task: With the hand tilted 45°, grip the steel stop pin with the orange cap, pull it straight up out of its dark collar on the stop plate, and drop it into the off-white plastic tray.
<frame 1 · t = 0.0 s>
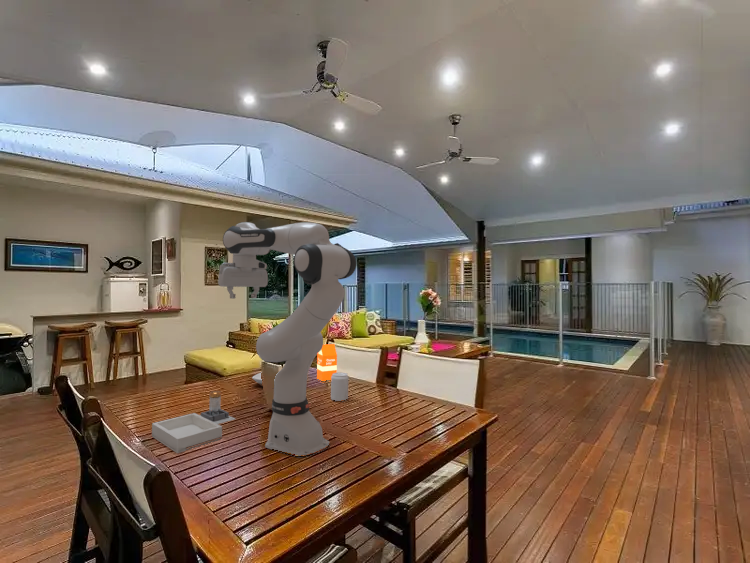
hand: (243, 298, 156), 48 cm above the table, tool pointing down, fingers open, 8 cm apart
tray: (186, 437, 136), on the table
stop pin: (214, 417, 153), point 1 cm above the table, touching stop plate
beverage can: (339, 400, 184), on the table
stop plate: (214, 420, 153), on the table
orange juice: (326, 380, 220), on the table
bowl: (276, 385, 207), on the table
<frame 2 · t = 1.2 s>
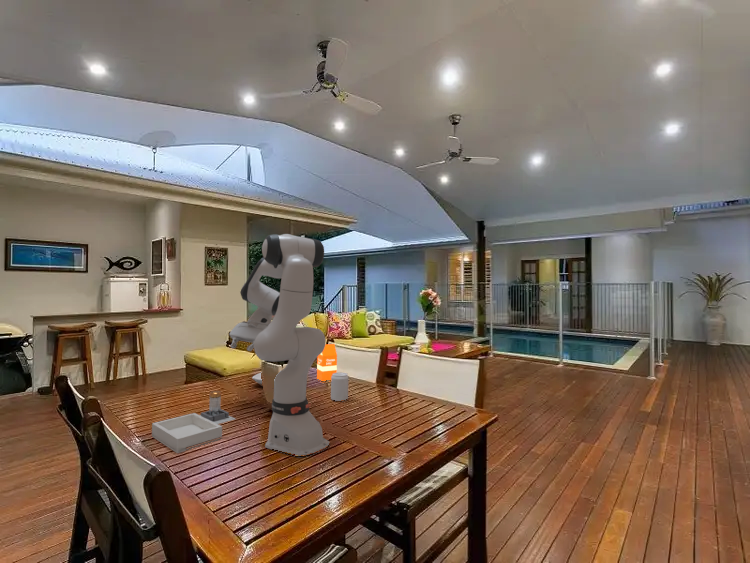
hand: (240, 348, 164), 26 cm above the table, tool tilted 45°, fingers open, 8 cm apart
nothing on the table moved.
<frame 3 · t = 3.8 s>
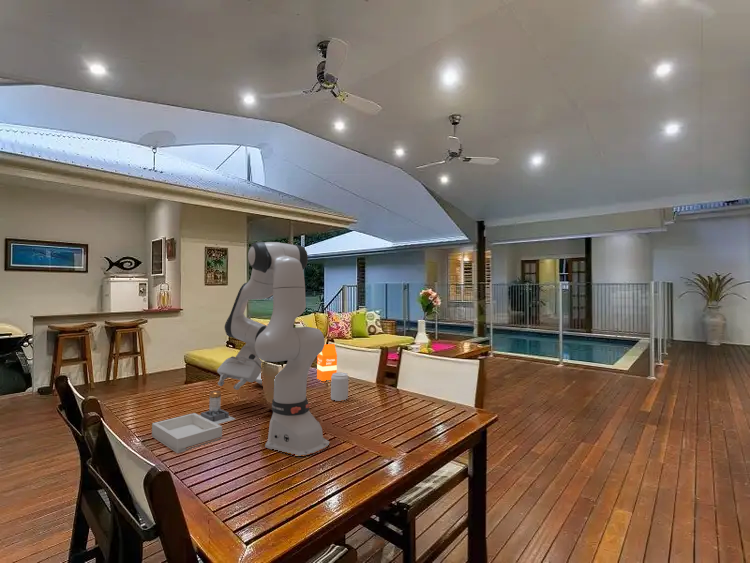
hand: (227, 386, 158), 12 cm above the table, tool tilted 45°, fingers open, 8 cm apart
nothing on the table moved.
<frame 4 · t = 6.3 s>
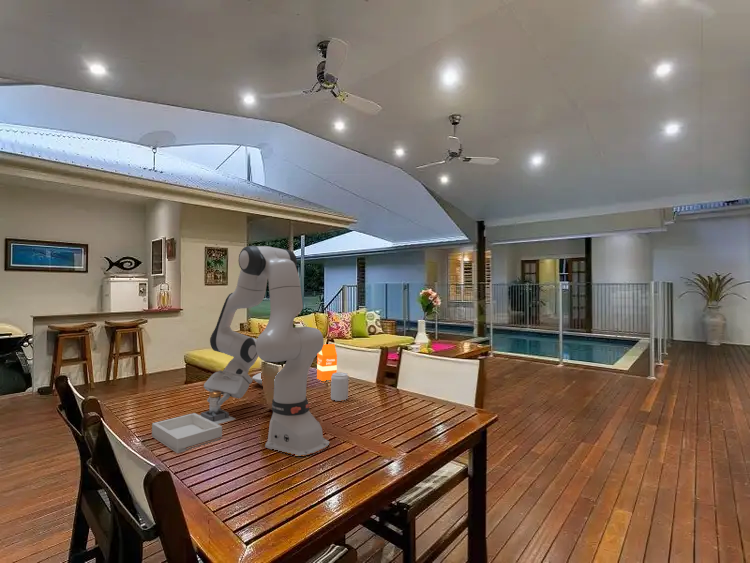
hand: (213, 403, 153), 7 cm above the table, tool tilted 45°, fingers closed on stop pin, 4 cm apart
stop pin: (214, 417, 153), point 1 cm above the table, touching gripper, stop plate
everything else where it was.
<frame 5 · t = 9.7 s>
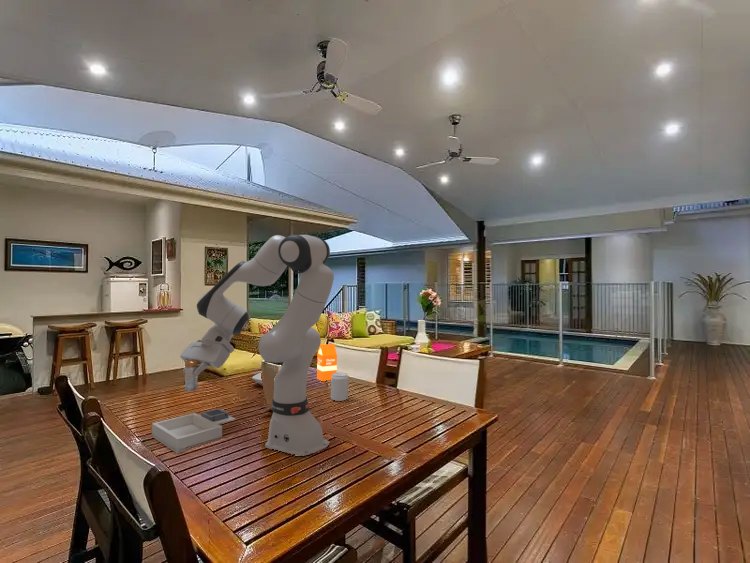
hand: (189, 373, 137), 22 cm above the table, tool tilted 45°, fingers closed on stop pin, 4 cm apart
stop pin: (191, 389, 138), point 16 cm above the table, touching gripper
everything else where it was.
when the fingers open (9 cm above the table, at t = 13.2 s): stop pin drops 2 cm, resting on tray.
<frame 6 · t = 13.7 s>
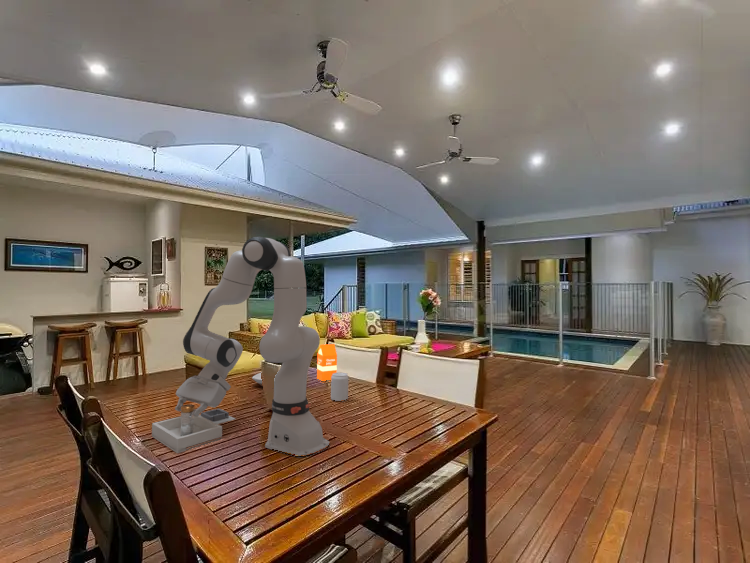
hand: (185, 412, 135), 9 cm above the table, tool tilted 45°, fingers open, 8 cm apart
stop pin: (186, 435, 136), point 1 cm above the table, touching tray
everything else where it was.
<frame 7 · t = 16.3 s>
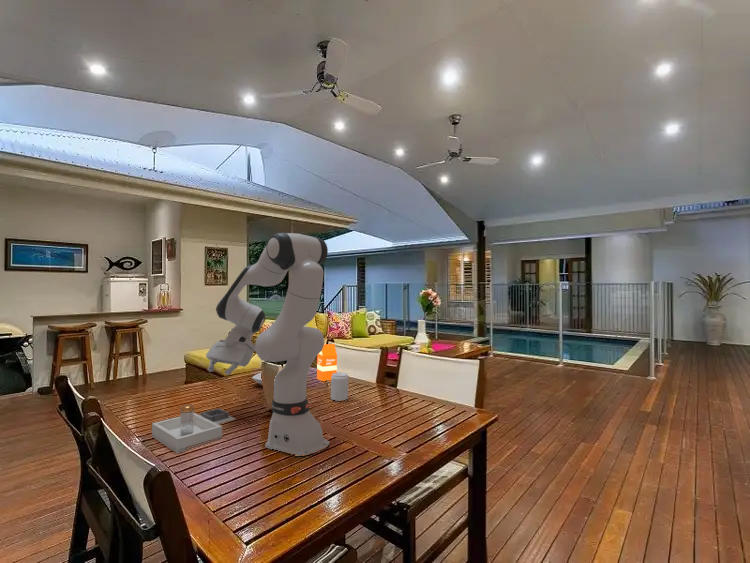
hand: (218, 372, 148), 20 cm above the table, tool tilted 40°, fingers open, 8 cm apart
nothing on the table moved.
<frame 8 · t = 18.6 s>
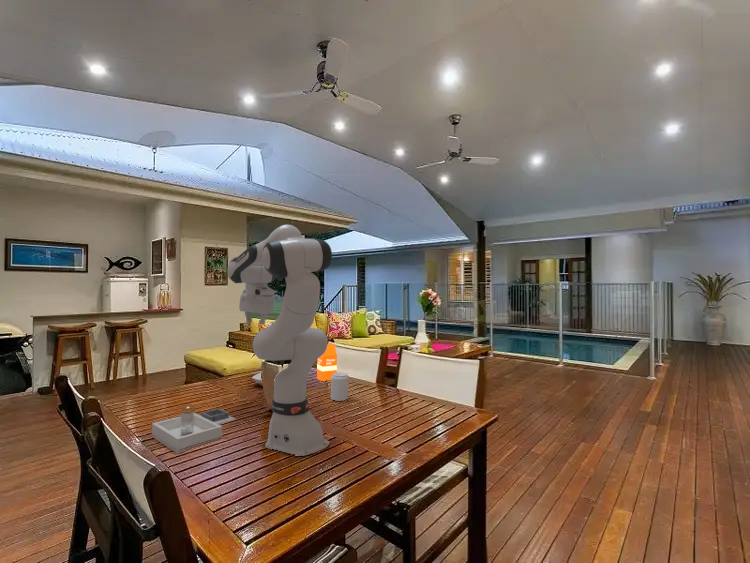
hand: (255, 323, 164), 37 cm above the table, tool pointing down, fingers open, 8 cm apart
nothing on the table moved.
at the end: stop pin inside the target area on the tray (0.1 cm from its centre), point 1.1 cm above the tray's base; the gripper is holding nothing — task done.
